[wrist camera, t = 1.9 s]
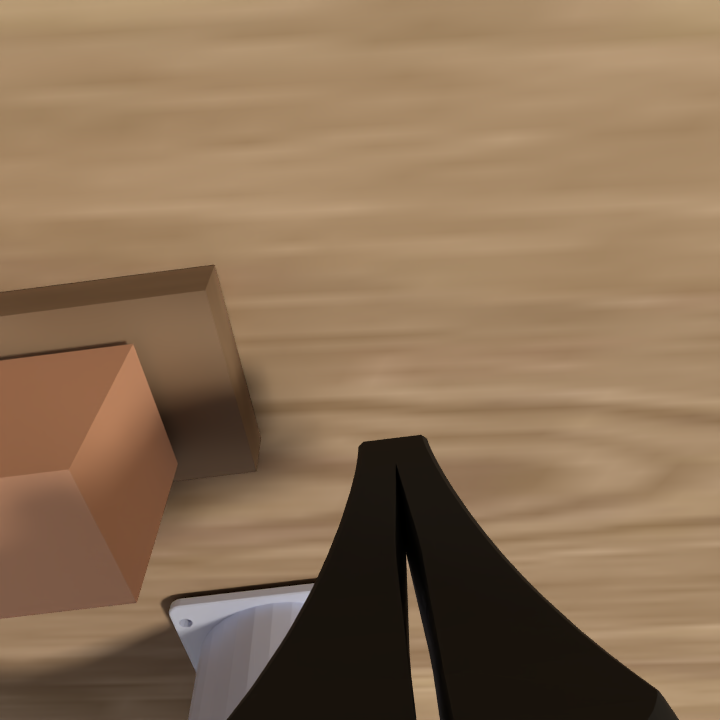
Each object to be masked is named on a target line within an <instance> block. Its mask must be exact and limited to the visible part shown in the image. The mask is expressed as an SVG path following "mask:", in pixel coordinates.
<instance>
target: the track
mask: <svg viewBox="0 0 720 720" xmlns="http://www.w3.org/2000/svg"><path fill="white" fill-rule="evenodd" d="M128 344H133V345H134V348H135V350H136V353H137V356H138V358H139V361H140V364H141V366H142V369H143V372H144V374H145V377H146V380H147V382H148V385H149V388H150V390H151V393H152V396H153V398H154V401H155V404H156V406H157V409H158V412H159V414H160V417H161V420H162V422H163V425H164V428H165V430H166V433H167V436H168V438H169V441H170V444H171V447H172V449H173V452H174V455H175V457H176V460H177V463H178V465H177V468H176V472H175V475H174V479H173V481H181V480H189V479H198V478H206V477H214V476H223V475H231V474H239V473H247V472H256V471H257V464H258V457H259V450H260V442H261V437H260V433H259V429H258V425H257V422H256V418H255V414H254V410H253V407H252V403H251V399H250V395H249V392H248V388H247V384H246V381H245V377H244V373H243V369H242V366H241V362H240V358H239V354H238V351H237V347H236V343H235V339H234V336H233V332H232V328H231V324H230V321H229V317H228V313H227V309H226V306H225V302H224V298H223V294H222V291H221V287H220V283H219V279H218V276H217V272H216V268H215V265H211V266H203V267H195V268H187V269H180V270H172V271H164V272H156V273H149V274H141V275H133V276H125V277H117V278H110V279H102V280H94V281H86V282H79V283H71V284H63V285H55V286H48V287H40V288H32V289H24V290H16V291H9V292H1V293H0V361H1V360H9V359H17V358H24V357H32V356H40V355H48V354H56V353H64V352H72V351H80V350H88V349H96V348H104V347H112V346H120V345H128Z"/></svg>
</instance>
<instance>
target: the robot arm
mask: <svg viewBox="0 0 720 720" xmlns="http://www.w3.org/2000/svg"><path fill="white" fill-rule="evenodd" d="M406 554H407V559H408V563H409V567H410V572H411V576H412V580H413V585H414V589H415V593H416V598H417V602H418V606H419V610H420V615H421V619H422V623H423V627H424V632H425V636H426V640H427V645H428V649H429V654H430V659H431V664H432V669H433V675H434V682H435V688H436V695H437V702H438V709H439V716H440V720H679V719H678V718H677V716H676V715H675V713H674V712H673V710H672V709H671V707H670V706H669V704H668V703H667V701H666V700H665V699H664V697H663V696H662V694H661V693H660V692H659V691H658V690H657V689H656V688H654V687H653V686H651V685H650V684H649V683H647V682H646V681H645V680H643V679H642V678H640V677H639V676H638V675H636V674H635V673H634V672H632V671H631V670H630V669H628V668H627V667H626V666H624V665H623V664H622V663H620V662H619V661H618V660H617V659H615V658H614V657H613V656H611V655H610V654H609V653H607V652H606V651H605V650H604V649H603V648H601V647H600V646H599V645H598V644H597V643H595V642H594V641H593V640H592V639H590V638H589V637H588V636H587V635H586V634H584V633H583V632H582V631H581V630H580V629H578V628H577V627H576V626H575V625H574V624H573V623H572V622H571V621H570V620H569V619H567V618H566V617H565V616H564V615H563V614H562V613H561V612H560V611H559V610H558V609H556V608H555V607H554V606H553V605H552V604H551V603H550V602H549V601H548V600H547V599H545V598H544V597H543V596H542V595H541V594H540V593H539V592H538V591H537V590H536V589H535V588H534V587H533V586H532V585H531V584H530V583H529V582H528V581H527V580H526V579H525V578H524V577H523V576H522V575H521V573H520V572H519V571H518V570H517V569H516V568H515V567H514V566H513V565H512V564H511V563H510V562H509V560H508V559H507V558H506V557H505V556H504V555H503V554H502V552H501V551H500V550H499V549H498V548H497V547H496V545H495V544H494V543H493V542H492V541H491V539H490V538H489V537H488V536H487V534H486V533H485V532H484V531H483V529H482V528H481V527H480V526H479V524H478V523H477V522H476V520H475V519H474V518H473V516H472V515H471V514H470V512H469V511H468V509H467V508H466V506H465V505H464V504H463V502H462V501H461V499H460V498H459V496H458V495H457V493H456V492H455V490H454V489H453V487H452V486H451V484H450V483H449V481H448V480H447V478H446V476H445V474H444V473H443V471H442V469H441V468H440V466H439V464H438V462H437V460H436V458H435V456H434V455H433V452H432V450H431V448H430V446H429V443H428V441H427V439H426V438H425V437H424V436H422V435H416V436H408V437H400V438H391V439H383V440H375V441H366V442H363V443H362V444H361V445H360V446H359V448H358V459H357V465H356V471H355V475H354V479H353V483H352V487H351V491H350V494H349V497H348V501H347V504H346V507H345V510H344V513H343V516H342V519H341V522H340V525H339V528H338V530H337V533H336V535H335V538H334V540H333V543H332V545H331V548H330V550H329V553H328V555H327V558H326V560H325V562H324V564H323V566H322V569H321V571H320V573H319V575H318V577H317V579H316V581H315V583H311V584H302V585H293V586H285V587H276V588H268V589H259V590H250V591H242V592H233V593H225V594H216V595H207V596H199V597H190V598H182V599H177V600H175V601H173V602H172V604H171V606H170V610H169V616H170V618H171V620H172V622H173V624H174V627H175V629H176V631H177V633H178V635H179V637H180V639H181V642H182V644H183V646H184V648H185V650H186V652H187V654H188V656H189V659H190V661H191V663H192V665H193V667H194V669H195V671H196V678H195V684H194V689H193V695H192V700H191V706H190V711H189V717H188V720H416V712H415V703H414V695H413V687H412V678H411V667H410V653H409V624H408V595H407V567H406Z"/></svg>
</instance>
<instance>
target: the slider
mask: <svg viewBox="0 0 720 720" xmlns="http://www.w3.org/2000/svg"><path fill="white" fill-rule="evenodd" d="M177 465H178V463H177V460H176V457H175V455H174V452H173V449H172V447H171V444H170V441H169V438H168V436H167V433H166V430H165V428H164V425H163V422H162V420H161V417H160V414H159V412H158V409H157V406H156V404H155V401H154V398H153V396H152V393H151V390H150V388H149V385H148V382H147V380H146V377H145V374H144V372H143V369H142V366H141V364H140V361H139V358H138V356H137V353H136V350H135V348H134V345H133V344H128V345H120V346H112V347H104V348H96V349H88V350H80V351H72V352H64V353H56V354H48V355H40V356H32V357H24V358H17V359H9V360H1V361H0V619H1V618H10V617H19V616H27V615H36V614H44V613H53V612H62V611H70V610H79V609H87V608H96V607H105V606H113V605H122V604H130V603H137V600H138V597H139V593H140V590H141V586H142V583H143V580H144V576H145V573H146V570H147V566H148V563H149V559H150V556H151V553H152V549H153V546H154V543H155V539H156V536H157V533H158V529H159V526H160V522H161V519H162V516H163V512H164V509H165V506H166V502H167V499H168V495H169V492H170V489H171V485H172V482H173V479H174V475H175V472H176V468H177Z"/></svg>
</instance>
